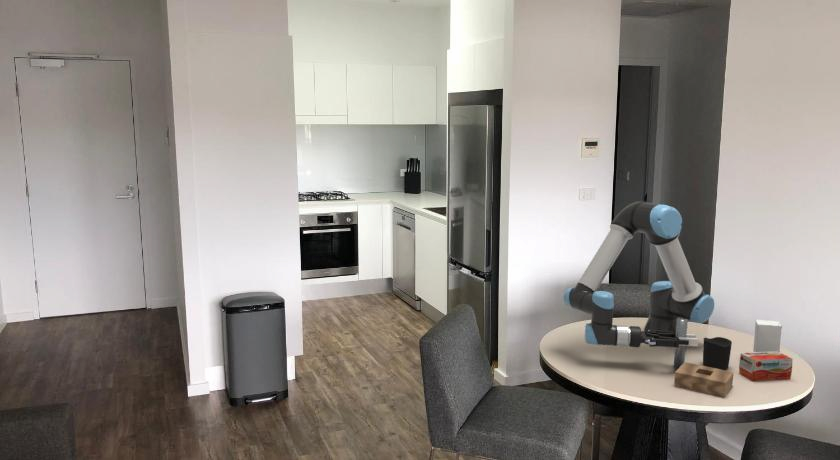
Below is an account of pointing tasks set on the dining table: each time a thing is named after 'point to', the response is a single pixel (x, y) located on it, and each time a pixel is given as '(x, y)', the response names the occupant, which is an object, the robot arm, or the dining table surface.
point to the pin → (680, 352)
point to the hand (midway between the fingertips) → (696, 340)
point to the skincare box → (767, 336)
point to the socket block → (704, 379)
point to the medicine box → (765, 366)
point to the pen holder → (716, 352)
